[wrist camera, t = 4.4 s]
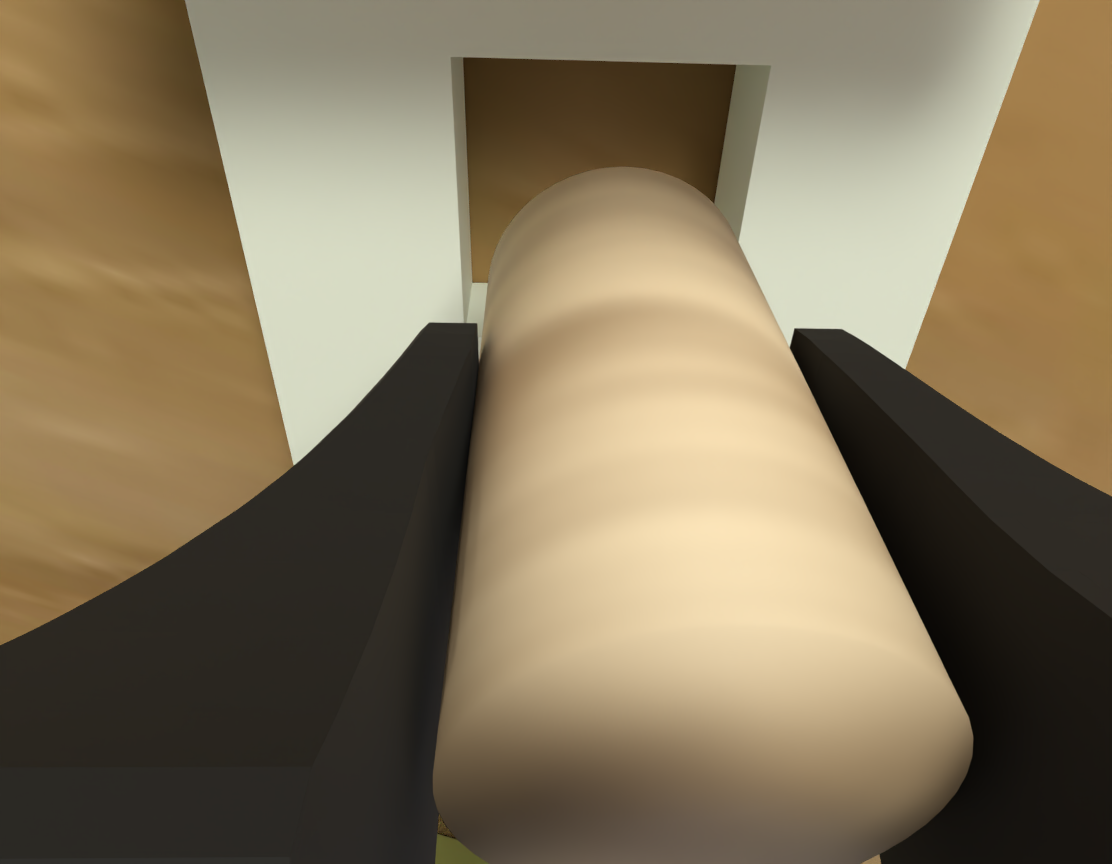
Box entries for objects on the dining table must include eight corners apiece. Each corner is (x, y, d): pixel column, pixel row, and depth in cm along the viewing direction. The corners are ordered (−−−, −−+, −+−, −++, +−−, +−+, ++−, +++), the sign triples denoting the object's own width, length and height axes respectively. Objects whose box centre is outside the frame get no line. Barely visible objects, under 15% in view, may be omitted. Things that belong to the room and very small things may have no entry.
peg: (720, 399, 13) (882, 901, 7) (491, 396, 13) (448, 903, 7) (766, 170, 11) (1070, 625, 5) (484, 163, 11) (409, 622, 5)
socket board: (823, 456, 22) (850, 518, 20) (326, 451, 22) (305, 513, 20) (1128, -522, 11) (1257, -598, 9) (124, -574, 11) (28, -666, 9)
